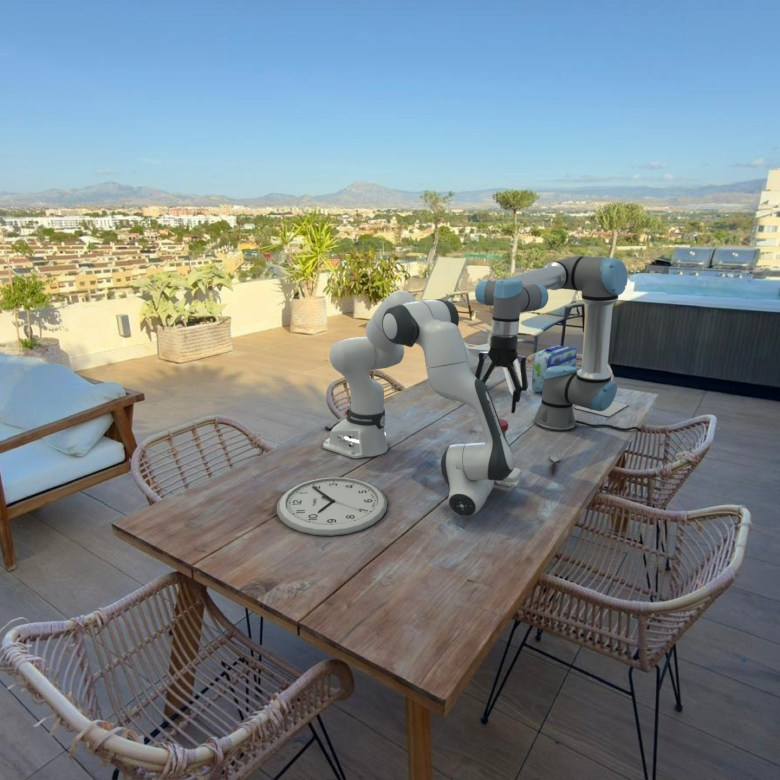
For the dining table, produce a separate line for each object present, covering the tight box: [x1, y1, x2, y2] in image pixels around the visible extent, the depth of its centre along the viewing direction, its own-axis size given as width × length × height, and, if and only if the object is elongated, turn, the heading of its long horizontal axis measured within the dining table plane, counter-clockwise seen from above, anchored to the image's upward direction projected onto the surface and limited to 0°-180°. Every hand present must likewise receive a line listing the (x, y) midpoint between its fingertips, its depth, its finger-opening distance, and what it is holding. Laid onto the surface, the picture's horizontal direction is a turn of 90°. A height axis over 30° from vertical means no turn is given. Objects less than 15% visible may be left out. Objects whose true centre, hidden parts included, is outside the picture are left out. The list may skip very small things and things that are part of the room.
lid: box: [499, 418, 509, 432], centre depth 157 cm, size 7×7×2 cm
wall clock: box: [276, 476, 388, 537], centre depth 142 cm, size 30×2×30 cm
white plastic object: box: [463, 339, 531, 397], centre depth 245 cm, size 37×45×31 cm
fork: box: [550, 450, 560, 475], centre depth 169 cm, size 3×16×2 cm, turn 160°
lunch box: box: [531, 345, 577, 393], centre depth 245 cm, size 26×11×21 cm, turn 134°
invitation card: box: [573, 400, 629, 418], centre depth 226 cm, size 21×1×15 cm
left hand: (491, 461), depth 158 cm, fingers open, 8 cm apart
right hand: (498, 409), depth 156 cm, fingers open, 8 cm apart
